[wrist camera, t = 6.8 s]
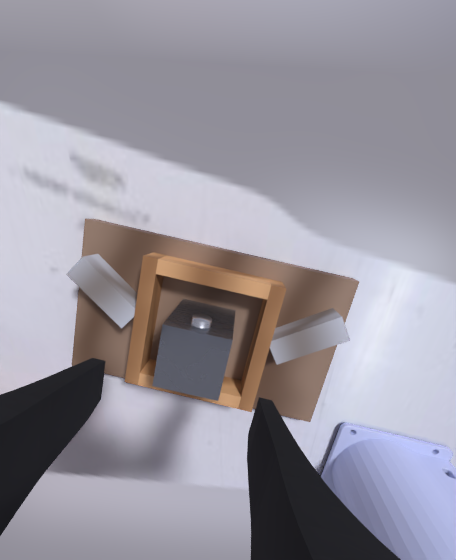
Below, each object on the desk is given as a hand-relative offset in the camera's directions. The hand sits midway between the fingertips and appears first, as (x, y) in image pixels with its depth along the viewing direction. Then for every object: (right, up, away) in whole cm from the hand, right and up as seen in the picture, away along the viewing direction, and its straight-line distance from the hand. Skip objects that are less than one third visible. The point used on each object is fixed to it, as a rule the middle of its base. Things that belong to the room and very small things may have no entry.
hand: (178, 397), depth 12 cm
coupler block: (0, +2, +8) cm, 8 cm away
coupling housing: (+1, +2, +9) cm, 9 cm away
